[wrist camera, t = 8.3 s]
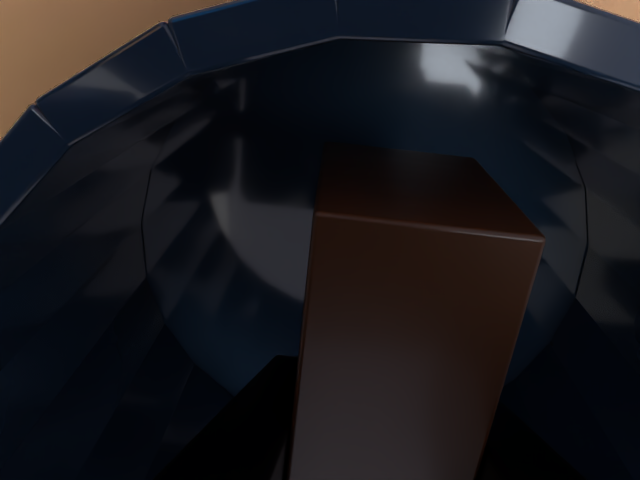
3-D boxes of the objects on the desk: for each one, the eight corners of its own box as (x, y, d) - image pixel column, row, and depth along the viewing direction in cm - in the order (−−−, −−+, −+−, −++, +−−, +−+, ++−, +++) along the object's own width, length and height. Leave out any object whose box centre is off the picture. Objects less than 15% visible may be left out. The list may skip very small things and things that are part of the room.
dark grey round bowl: (654, 337, 13) (940, 637, 7) (275, 478, 16) (228, 798, 9) (495, -119, 10) (783, -369, 3) (35, 153, 12) (-308, 311, 6)
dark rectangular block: (398, 506, 10) (417, 683, 8) (286, 494, 10) (265, 666, 8) (476, 156, 8) (549, 237, 5) (324, 140, 8) (313, 211, 5)
